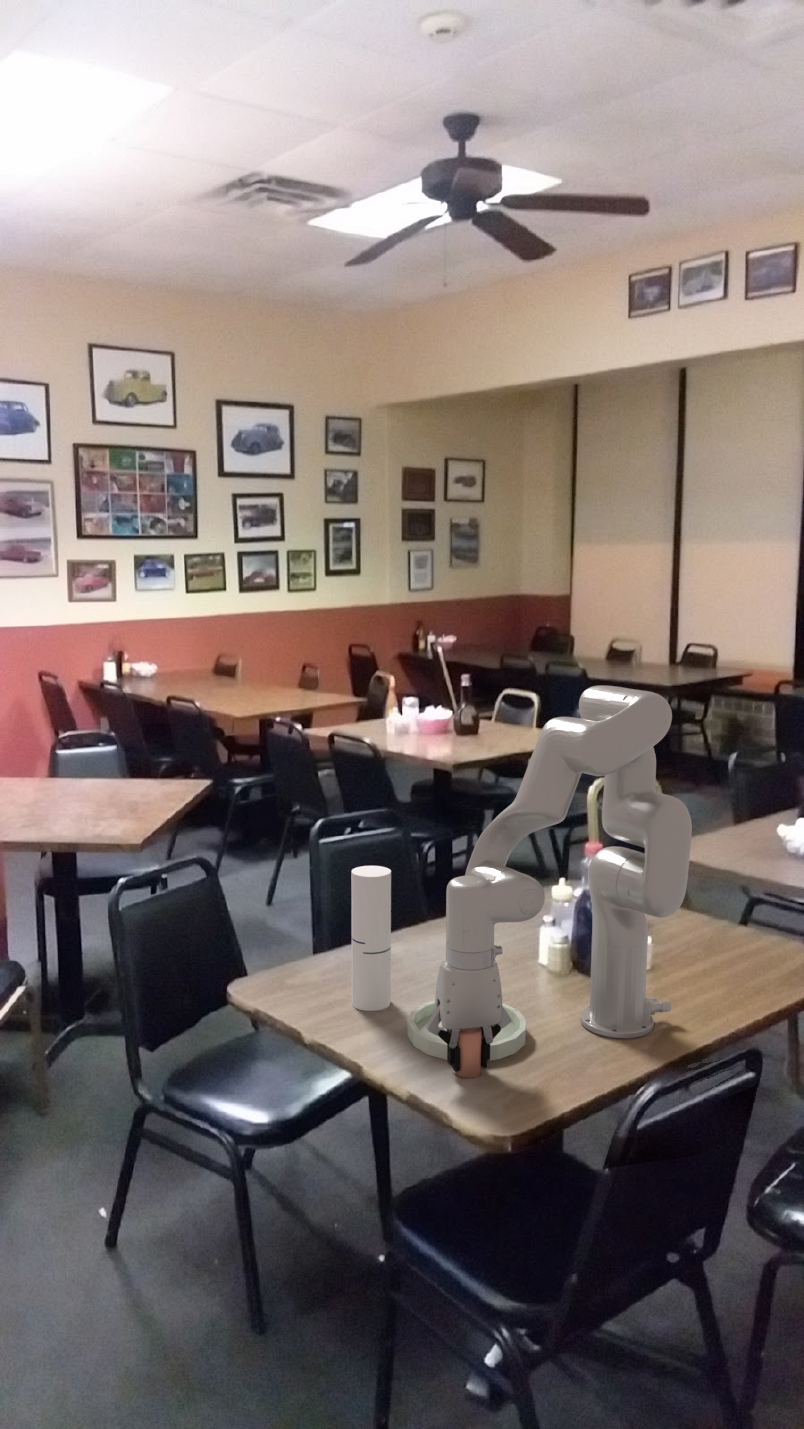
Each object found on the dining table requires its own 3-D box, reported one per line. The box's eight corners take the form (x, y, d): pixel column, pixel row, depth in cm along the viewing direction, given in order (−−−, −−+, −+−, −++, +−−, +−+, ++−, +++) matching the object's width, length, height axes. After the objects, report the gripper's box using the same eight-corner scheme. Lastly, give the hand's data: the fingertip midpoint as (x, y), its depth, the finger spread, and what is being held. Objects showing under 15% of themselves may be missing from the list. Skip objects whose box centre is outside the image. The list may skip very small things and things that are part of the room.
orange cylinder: (476, 1064, 172) (476, 1023, 171) (484, 1076, 168) (485, 1034, 167) (452, 1067, 171) (453, 1026, 170) (460, 1079, 167) (460, 1036, 166)
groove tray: (502, 1005, 195) (502, 992, 195) (543, 1054, 176) (543, 1039, 176) (396, 1016, 190) (396, 1002, 190) (426, 1067, 171) (426, 1052, 171)
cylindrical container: (365, 992, 201) (365, 863, 198) (397, 1000, 197) (398, 869, 194) (344, 1005, 195) (343, 872, 191) (377, 1014, 191) (377, 879, 188)
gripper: (511, 943, 173) (509, 1050, 175) (412, 952, 168) (411, 1061, 171) (528, 959, 165) (526, 1071, 168) (424, 969, 161) (424, 1083, 164)
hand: (468, 1065), depth 169 cm, fingers closed on orange cylinder, 3 cm apart
